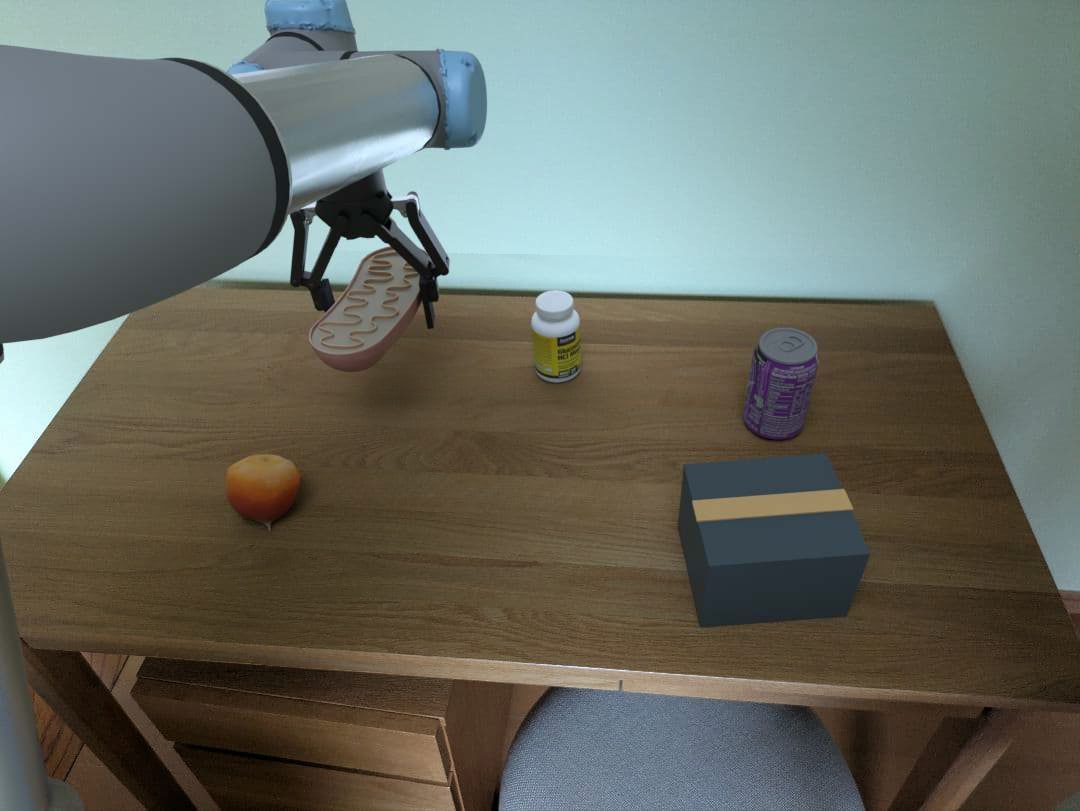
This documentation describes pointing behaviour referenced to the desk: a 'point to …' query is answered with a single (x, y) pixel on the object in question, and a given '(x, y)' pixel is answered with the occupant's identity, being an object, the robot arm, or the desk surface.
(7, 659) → the robot arm
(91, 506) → the desk surface
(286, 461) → the fruit
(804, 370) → the beverage can
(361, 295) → the anatomical model
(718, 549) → the dark blue box
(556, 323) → the pill bottle
